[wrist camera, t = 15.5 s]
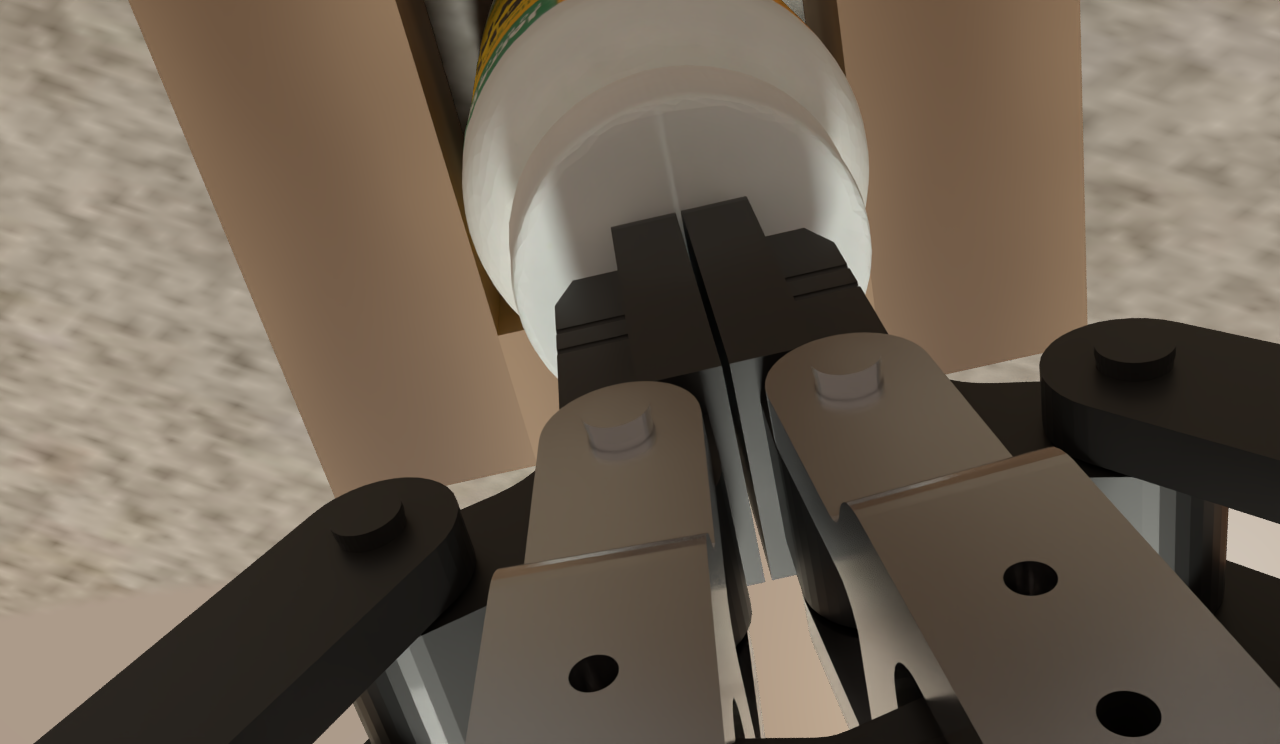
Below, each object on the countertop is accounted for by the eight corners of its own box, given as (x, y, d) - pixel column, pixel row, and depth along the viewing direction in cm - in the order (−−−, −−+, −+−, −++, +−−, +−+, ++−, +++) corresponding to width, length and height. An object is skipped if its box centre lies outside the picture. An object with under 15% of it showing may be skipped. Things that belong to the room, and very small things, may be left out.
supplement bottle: (732, 225, 23) (848, 515, 15) (458, 173, 22) (413, 450, 14) (813, -60, 20) (1008, 91, 12) (507, -132, 20) (491, -22, 11)
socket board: (991, -419, 18) (1069, -443, 16) (1027, 275, 24) (1087, 343, 21) (115, -207, 19) (47, -195, 16) (360, 424, 24) (340, 509, 22)
